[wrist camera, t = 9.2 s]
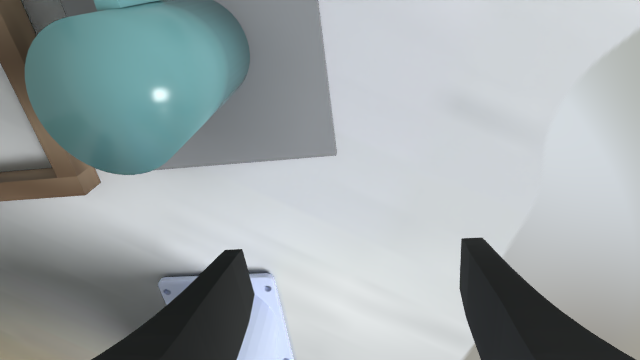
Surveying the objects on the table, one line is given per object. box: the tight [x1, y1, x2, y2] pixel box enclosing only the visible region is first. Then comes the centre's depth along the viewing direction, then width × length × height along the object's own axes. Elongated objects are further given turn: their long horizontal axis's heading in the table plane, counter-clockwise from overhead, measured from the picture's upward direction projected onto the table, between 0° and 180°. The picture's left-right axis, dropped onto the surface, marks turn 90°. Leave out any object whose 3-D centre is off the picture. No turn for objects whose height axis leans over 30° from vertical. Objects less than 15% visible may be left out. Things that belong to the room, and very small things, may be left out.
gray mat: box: [60, 0, 337, 170], centre depth 20 cm, size 12×12×1 cm
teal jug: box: [25, 0, 250, 175], centre depth 15 cm, size 7×5×8 cm
